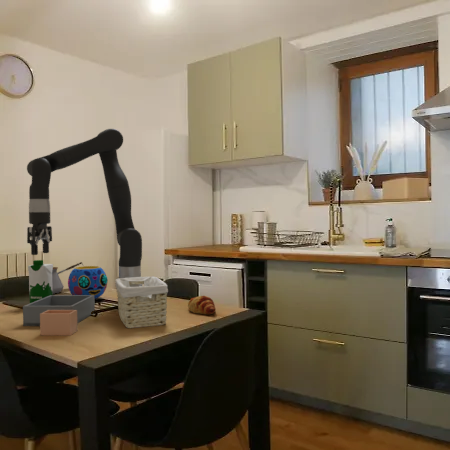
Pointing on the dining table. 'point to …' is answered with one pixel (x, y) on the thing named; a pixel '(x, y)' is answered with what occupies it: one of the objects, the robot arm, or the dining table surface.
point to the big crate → (58, 307)
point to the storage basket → (142, 301)
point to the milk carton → (40, 280)
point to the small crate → (58, 322)
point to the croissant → (201, 305)
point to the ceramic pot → (87, 281)
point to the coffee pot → (56, 281)
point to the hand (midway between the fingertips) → (40, 253)
